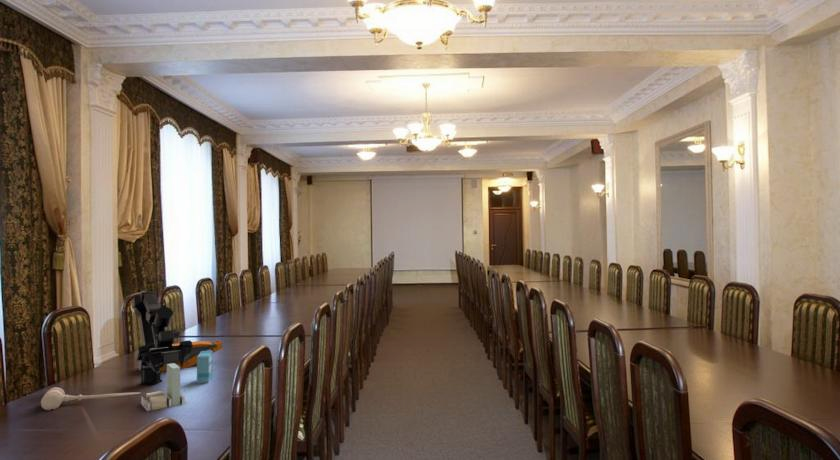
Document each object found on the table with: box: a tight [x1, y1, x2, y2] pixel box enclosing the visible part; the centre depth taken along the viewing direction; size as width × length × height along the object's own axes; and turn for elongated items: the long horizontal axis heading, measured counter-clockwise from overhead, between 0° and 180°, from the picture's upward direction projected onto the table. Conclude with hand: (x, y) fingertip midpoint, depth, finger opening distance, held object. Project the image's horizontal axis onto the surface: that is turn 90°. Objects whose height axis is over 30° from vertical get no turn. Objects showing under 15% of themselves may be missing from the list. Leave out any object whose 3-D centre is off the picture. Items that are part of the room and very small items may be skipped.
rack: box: [140, 392, 188, 412], centre depth 186 cm, size 10×13×4 cm
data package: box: [196, 351, 214, 384], centre depth 217 cm, size 12×4×12 cm, turn 14°
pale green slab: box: [166, 363, 181, 406], centre depth 187 cm, size 8×2×13 cm, turn 39°
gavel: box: [40, 386, 140, 411], centre depth 192 cm, size 10×6×32 cm
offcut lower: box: [150, 401, 167, 410], centre depth 184 cm, size 8×5×2 cm, turn 39°
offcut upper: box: [145, 390, 167, 404], centre depth 184 cm, size 8×5×2 cm, turn 39°
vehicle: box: [160, 339, 225, 372], centre depth 244 cm, size 14×34×10 cm, turn 124°
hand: (168, 368), depth 193 cm, fingers open, 9 cm apart
